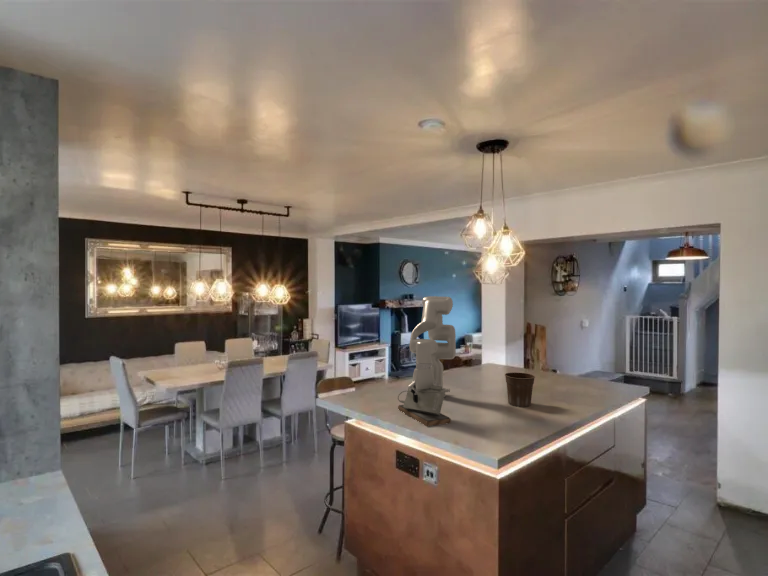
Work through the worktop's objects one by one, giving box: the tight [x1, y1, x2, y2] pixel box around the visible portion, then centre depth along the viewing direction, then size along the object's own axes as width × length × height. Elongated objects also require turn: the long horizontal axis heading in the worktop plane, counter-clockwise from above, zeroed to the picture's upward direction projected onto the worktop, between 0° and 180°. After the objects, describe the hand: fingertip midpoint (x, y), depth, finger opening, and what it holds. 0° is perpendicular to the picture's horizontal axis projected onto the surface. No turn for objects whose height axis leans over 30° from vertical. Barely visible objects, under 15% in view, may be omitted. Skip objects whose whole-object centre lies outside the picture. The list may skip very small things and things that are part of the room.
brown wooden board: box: [397, 404, 452, 427], centre depth 218 cm, size 13×30×2 cm, turn 24°
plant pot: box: [504, 372, 536, 408], centre depth 243 cm, size 16×16×16 cm
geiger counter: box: [397, 381, 446, 415], centre depth 219 cm, size 14×6×25 cm
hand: (423, 401), depth 218 cm, fingers open, 8 cm apart
